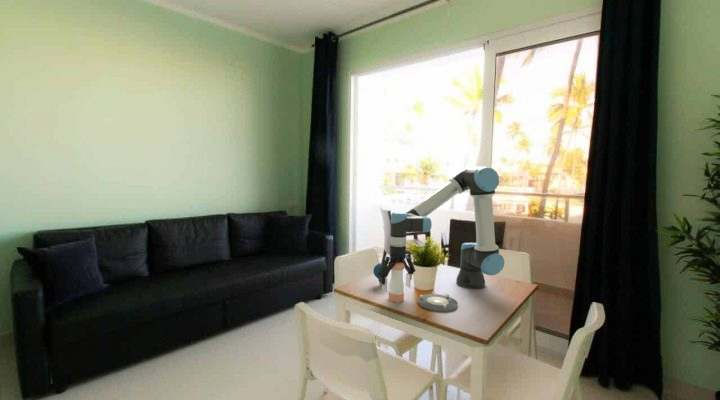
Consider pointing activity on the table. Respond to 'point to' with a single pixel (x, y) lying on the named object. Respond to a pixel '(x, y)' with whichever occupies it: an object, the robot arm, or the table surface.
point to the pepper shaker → (397, 283)
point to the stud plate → (437, 302)
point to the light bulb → (376, 271)
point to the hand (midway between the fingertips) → (396, 288)
